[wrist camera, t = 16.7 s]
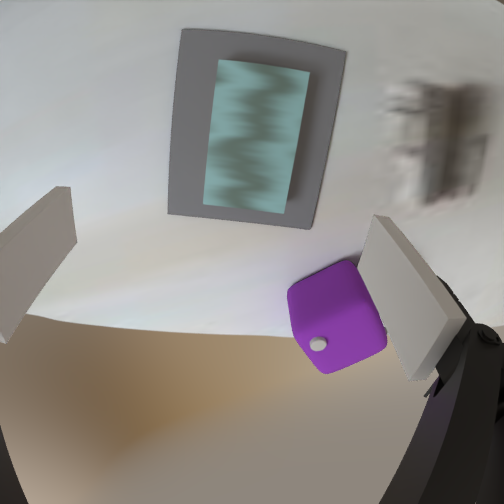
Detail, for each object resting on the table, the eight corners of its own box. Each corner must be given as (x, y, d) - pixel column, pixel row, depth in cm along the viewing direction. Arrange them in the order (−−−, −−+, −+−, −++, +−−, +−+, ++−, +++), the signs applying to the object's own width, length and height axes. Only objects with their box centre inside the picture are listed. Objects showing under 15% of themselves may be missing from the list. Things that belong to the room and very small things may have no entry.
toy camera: (399, 282, 41) (428, 332, 33) (320, 334, 46) (333, 389, 37) (361, 228, 37) (391, 277, 28) (273, 292, 42) (279, 350, 33)
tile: (202, 204, 31) (218, 59, 24) (206, 193, 34) (221, 61, 27) (283, 213, 32) (309, 72, 25) (280, 202, 35) (304, 72, 28)
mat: (168, 212, 36) (167, 214, 35) (182, 30, 25) (181, 29, 25) (309, 227, 37) (310, 229, 36) (344, 51, 27) (346, 51, 26)
